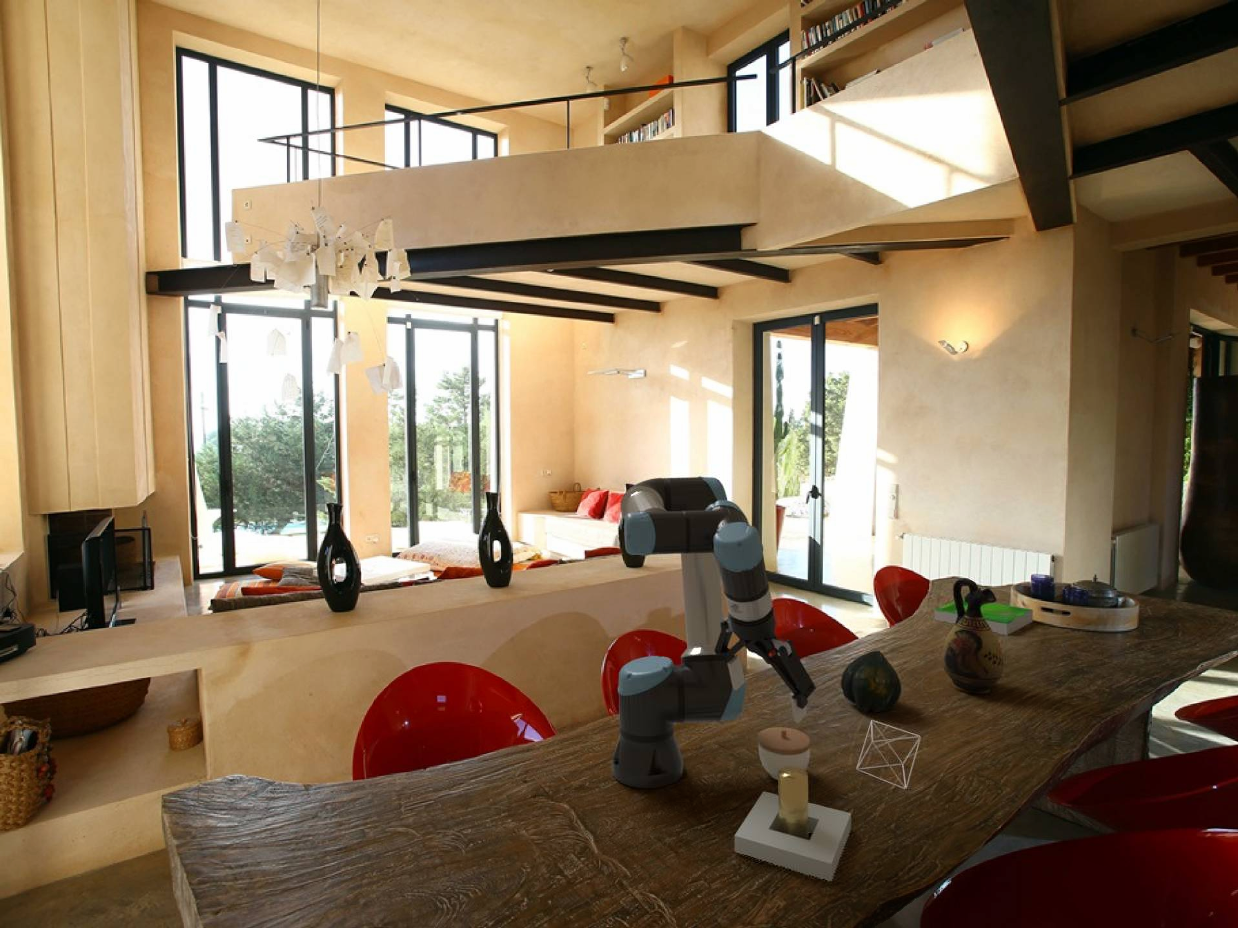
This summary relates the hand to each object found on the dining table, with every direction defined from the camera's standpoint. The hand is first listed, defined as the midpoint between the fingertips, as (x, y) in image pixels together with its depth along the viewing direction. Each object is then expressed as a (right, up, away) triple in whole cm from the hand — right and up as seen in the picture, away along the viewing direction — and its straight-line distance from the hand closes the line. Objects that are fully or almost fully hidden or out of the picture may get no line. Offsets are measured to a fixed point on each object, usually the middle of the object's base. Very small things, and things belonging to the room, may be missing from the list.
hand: (768, 700), depth 121 cm
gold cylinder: (+3, -23, -5) cm, 23 cm away
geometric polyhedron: (+29, -22, +17) cm, 40 cm away
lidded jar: (+7, -22, +18) cm, 29 cm away
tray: (+109, -17, +128) cm, 169 cm away
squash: (+38, -20, +52) cm, 68 cm away
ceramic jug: (+70, -19, +64) cm, 97 cm away
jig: (+3, -23, -5) cm, 23 cm away
